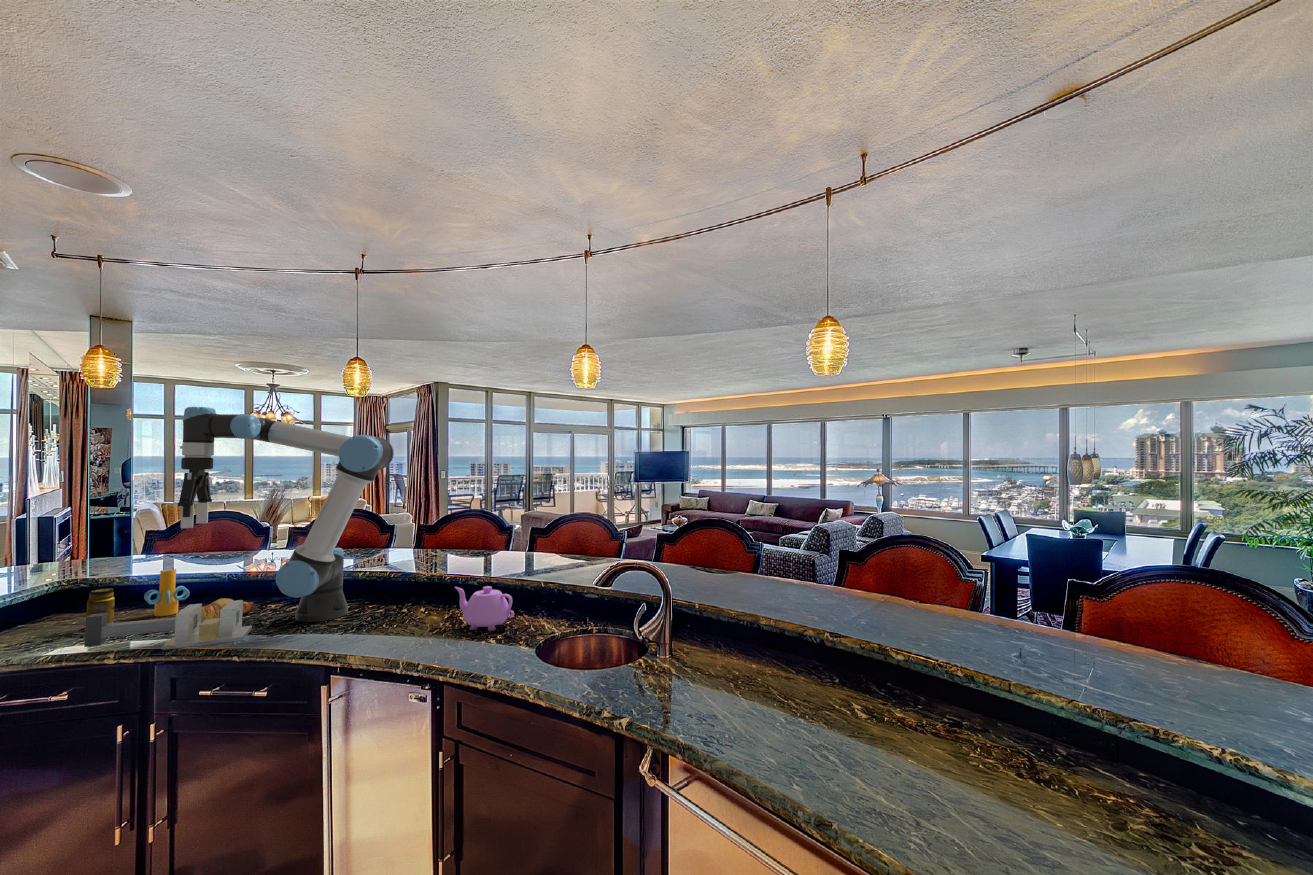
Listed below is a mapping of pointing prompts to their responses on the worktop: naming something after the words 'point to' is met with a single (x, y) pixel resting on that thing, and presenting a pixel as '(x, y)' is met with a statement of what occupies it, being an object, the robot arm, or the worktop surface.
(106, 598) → the condiment
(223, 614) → the frame
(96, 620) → the bar
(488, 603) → the teapot
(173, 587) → the cylinder
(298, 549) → the robot arm
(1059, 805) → the worktop surface
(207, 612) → the croissant
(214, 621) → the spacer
